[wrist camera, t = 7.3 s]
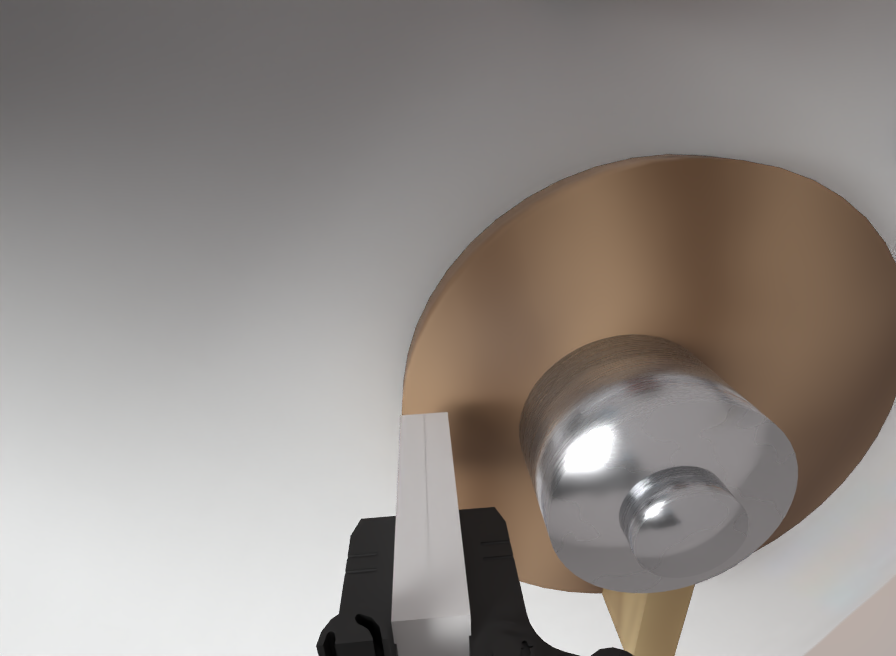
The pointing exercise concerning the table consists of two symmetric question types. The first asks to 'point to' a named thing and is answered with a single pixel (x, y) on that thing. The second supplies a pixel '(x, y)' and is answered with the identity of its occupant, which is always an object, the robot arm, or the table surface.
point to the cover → (651, 466)
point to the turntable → (662, 331)
